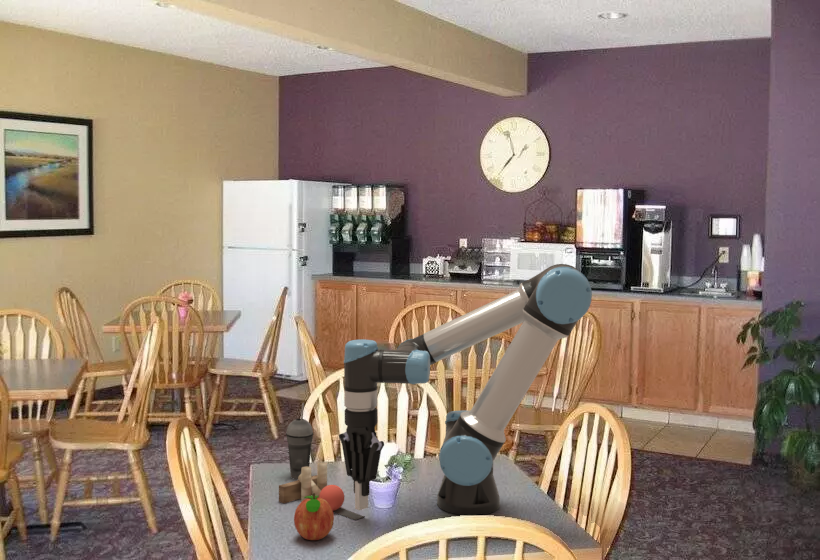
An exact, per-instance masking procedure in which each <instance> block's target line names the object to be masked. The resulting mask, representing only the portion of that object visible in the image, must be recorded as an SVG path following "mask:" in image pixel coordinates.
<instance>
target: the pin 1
mask: <svg viewBox="0 0 820 560" xmlns="http://www.w3.org/2000/svg"><path fill="white" fill-rule="evenodd" d="M311 476H312V467H311V466H309V467H307V466H306V467H302V468H301V499H300V500H301V501H300V503H301V502H302V501H303V500H305V499H307V498H304V497H306V496H312V495H311Z"/></svg>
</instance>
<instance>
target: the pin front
mask: <svg viewBox="0 0 820 560" xmlns="http://www.w3.org/2000/svg"><path fill="white" fill-rule="evenodd" d="M297 480H299V481H300V482H301V474H300V475H299V477H298V479H297ZM320 492H321V490H320V489H319V488H318V486H317V485H316V484H315V483H314V482H313V481H312V479H311V496H313V493H315V496H318V498H319V495H320Z"/></svg>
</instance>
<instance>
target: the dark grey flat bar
mask: <svg viewBox="0 0 820 560" xmlns="http://www.w3.org/2000/svg"><path fill="white" fill-rule="evenodd" d="M334 512H335V513H334ZM333 513H334V514H336V513H337V514H336V515H339V514H340V516H341V517H344V516H345V517H344V518H347V517H348V519H350V520H352V519H353V521H358V520H361V519H363V518H365V516H364V515H362V514H359V513H357V512H353V511H351V510H349V509H345V508H343V507H340V508H339V509H337V510H334V511H333Z"/></svg>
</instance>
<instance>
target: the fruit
mask: <svg viewBox="0 0 820 560" xmlns="http://www.w3.org/2000/svg"><path fill="white" fill-rule="evenodd" d="M304 498H307V499H305V500H303V501H302V502H301V501H300V503H299V504H298V505H297V507H296V508H295V511H294V517H293V521H294V527H295V529H296V532H297V533H298V534H299V536H300V537H302V538H303V539H305V540H310V541H319V540H322V539H324V538H325V537H327V536H328V535H329V533H330V532H331V530H332V529H333V526H334V521H335V516H334V515H335V513H334V512H333V510H332V508H331V506H330V505H329V504H328V502H327V501H325V500H324V499H322V498H318V496H315V493H313V496H312V495H311V496H306V497H304Z"/></svg>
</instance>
